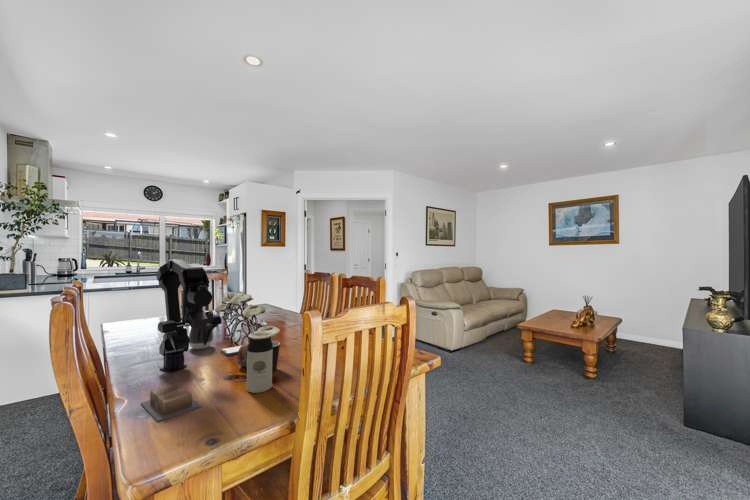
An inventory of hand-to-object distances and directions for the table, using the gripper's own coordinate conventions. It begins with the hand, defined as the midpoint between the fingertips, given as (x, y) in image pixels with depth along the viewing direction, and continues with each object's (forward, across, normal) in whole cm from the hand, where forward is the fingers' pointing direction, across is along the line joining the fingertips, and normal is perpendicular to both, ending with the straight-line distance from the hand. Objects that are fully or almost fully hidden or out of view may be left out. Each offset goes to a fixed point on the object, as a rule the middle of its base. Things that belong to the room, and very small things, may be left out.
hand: (190, 347), depth 109 cm
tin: (+12, +24, +2) cm, 27 cm away
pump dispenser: (+12, +18, +37) cm, 43 cm away
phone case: (+13, +29, +20) cm, 37 cm away
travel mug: (+12, +13, -23) cm, 29 cm away
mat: (+12, -10, -14) cm, 21 cm away
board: (+10, -10, -8) cm, 16 cm away
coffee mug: (+12, +23, -9) cm, 28 cm away
